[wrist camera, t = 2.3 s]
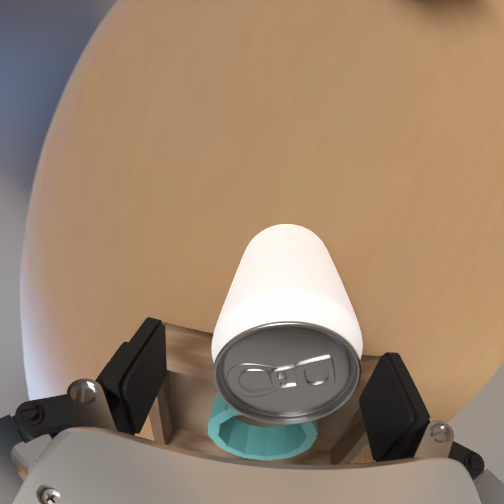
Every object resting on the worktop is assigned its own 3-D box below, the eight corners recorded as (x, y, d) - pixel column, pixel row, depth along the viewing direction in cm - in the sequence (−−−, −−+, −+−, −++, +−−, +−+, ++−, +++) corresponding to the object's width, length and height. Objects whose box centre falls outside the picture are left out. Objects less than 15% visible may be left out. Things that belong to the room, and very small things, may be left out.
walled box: (392, 357, 23) (406, 389, 18) (335, 448, 28) (337, 476, 24) (159, 321, 24) (138, 350, 20) (167, 424, 30) (157, 450, 25)
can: (233, 232, 20) (175, 326, 9) (321, 213, 19) (370, 292, 8) (254, 309, 22) (230, 433, 11) (334, 294, 21) (370, 416, 10)
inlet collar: (326, 380, 23) (331, 412, 19) (299, 435, 26) (299, 463, 22) (220, 364, 23) (210, 396, 20) (214, 423, 27) (206, 450, 23)
